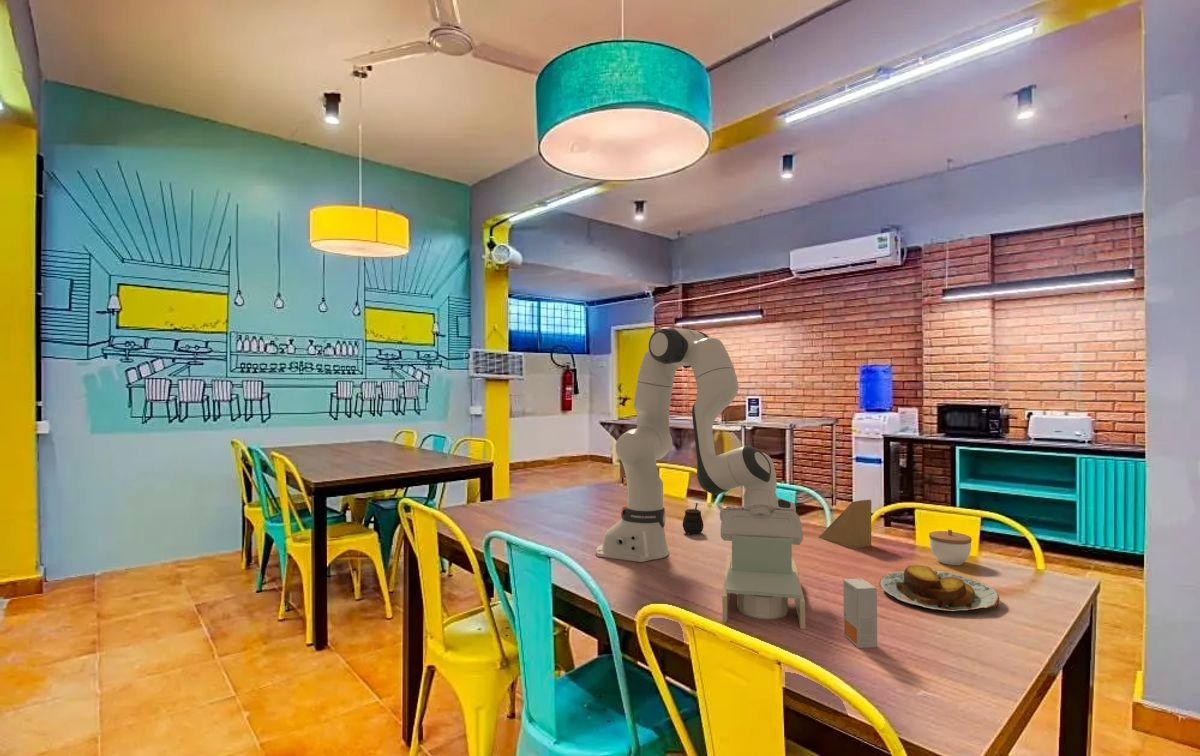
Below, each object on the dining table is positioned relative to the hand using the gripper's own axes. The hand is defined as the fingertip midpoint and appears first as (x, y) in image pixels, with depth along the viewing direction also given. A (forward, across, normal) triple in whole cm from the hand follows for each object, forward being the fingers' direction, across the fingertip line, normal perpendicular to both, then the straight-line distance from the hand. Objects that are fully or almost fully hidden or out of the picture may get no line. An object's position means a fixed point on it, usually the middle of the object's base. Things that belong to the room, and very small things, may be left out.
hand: (761, 556), depth 148 cm
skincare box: (+23, +19, -8) cm, 31 cm away
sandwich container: (-34, +27, +49) cm, 65 cm away
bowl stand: (+8, 0, +6) cm, 10 cm away
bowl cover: (+9, 0, -3) cm, 9 cm away
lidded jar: (-22, +54, +36) cm, 69 cm away
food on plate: (0, +42, +14) cm, 44 cm away
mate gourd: (-34, -22, +48) cm, 63 cm away
